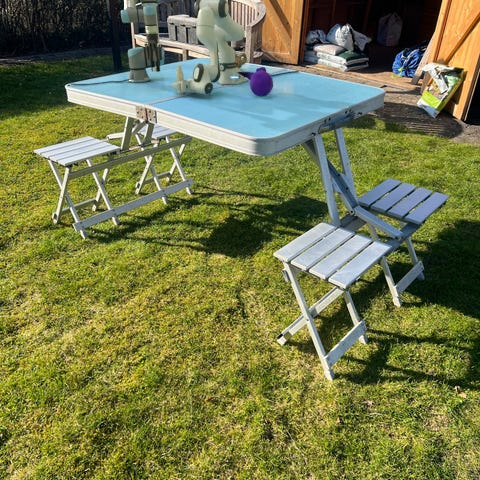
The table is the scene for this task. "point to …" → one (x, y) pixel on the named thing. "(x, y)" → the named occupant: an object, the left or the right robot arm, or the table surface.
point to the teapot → (238, 59)
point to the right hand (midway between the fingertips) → (179, 82)
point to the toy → (259, 81)
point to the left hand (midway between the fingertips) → (155, 71)
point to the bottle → (179, 77)
